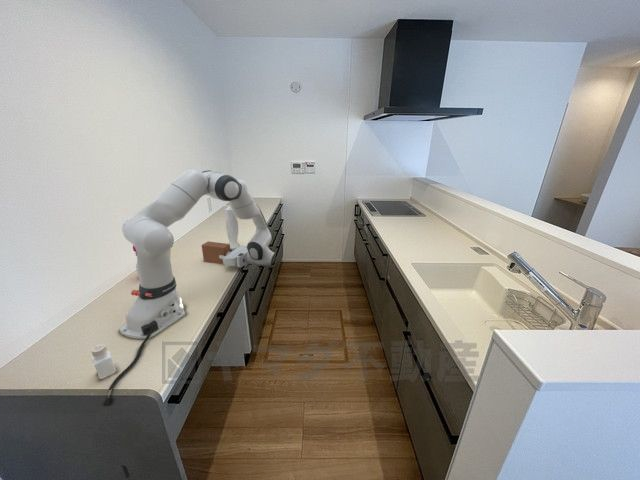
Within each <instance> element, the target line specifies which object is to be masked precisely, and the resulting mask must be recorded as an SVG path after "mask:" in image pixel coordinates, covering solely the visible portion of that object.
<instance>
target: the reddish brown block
mask: <svg viewBox="0 0 640 480" xmlns="http://www.w3.org/2000/svg"><path fill="white" fill-rule="evenodd" d="M201 251H202V258H203V259H202V260H203V262H207V263H214V264H221V265H224V264H223V259H220V258H219V256H220V255H224V256H226V255H228V254H229V253H231V251H230V244H229V243H225V242H216V241H210V240H209V241H208V240H207V241H206V242H204V243H202V244H201Z"/></svg>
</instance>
